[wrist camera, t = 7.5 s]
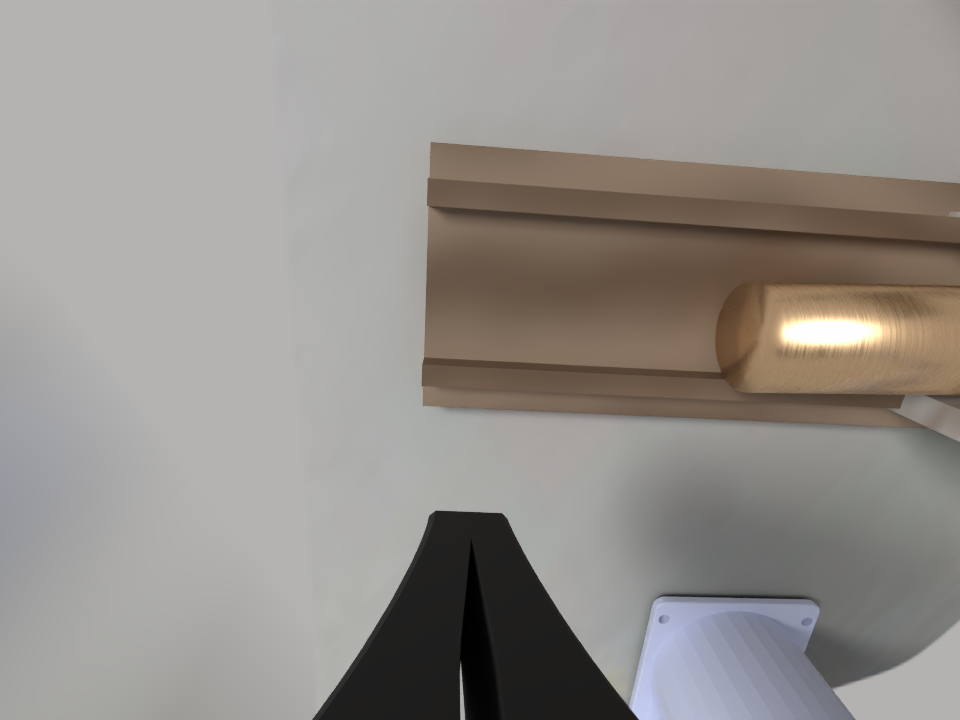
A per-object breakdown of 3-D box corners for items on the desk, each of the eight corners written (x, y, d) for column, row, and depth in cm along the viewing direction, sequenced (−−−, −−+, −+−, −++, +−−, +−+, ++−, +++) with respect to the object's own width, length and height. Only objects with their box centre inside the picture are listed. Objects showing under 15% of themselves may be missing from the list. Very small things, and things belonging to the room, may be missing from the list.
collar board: (1045, 423, 20) (1307, 520, 14) (424, 395, 18) (406, 489, 12) (1154, 202, 17) (1544, 198, 11) (432, 146, 15) (414, 104, 9)
